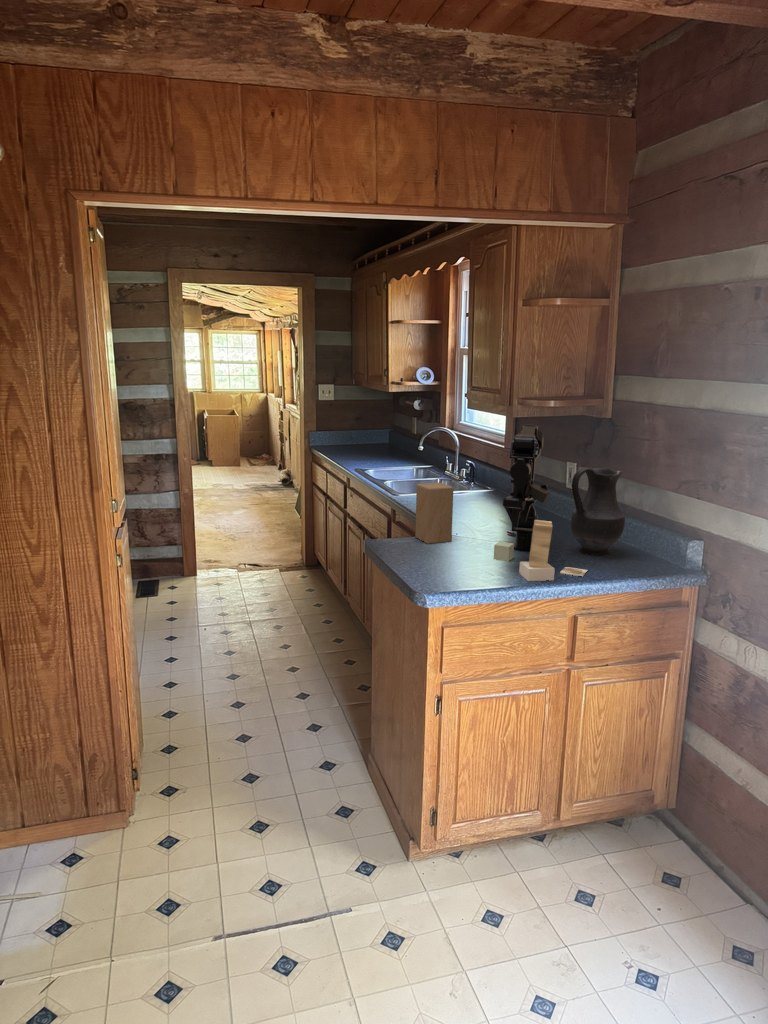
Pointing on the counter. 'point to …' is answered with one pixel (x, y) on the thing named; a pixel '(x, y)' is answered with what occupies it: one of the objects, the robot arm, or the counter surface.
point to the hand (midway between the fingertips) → (519, 524)
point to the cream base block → (536, 572)
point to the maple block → (540, 543)
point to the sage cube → (503, 551)
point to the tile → (573, 571)
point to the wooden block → (434, 512)
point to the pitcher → (597, 511)
